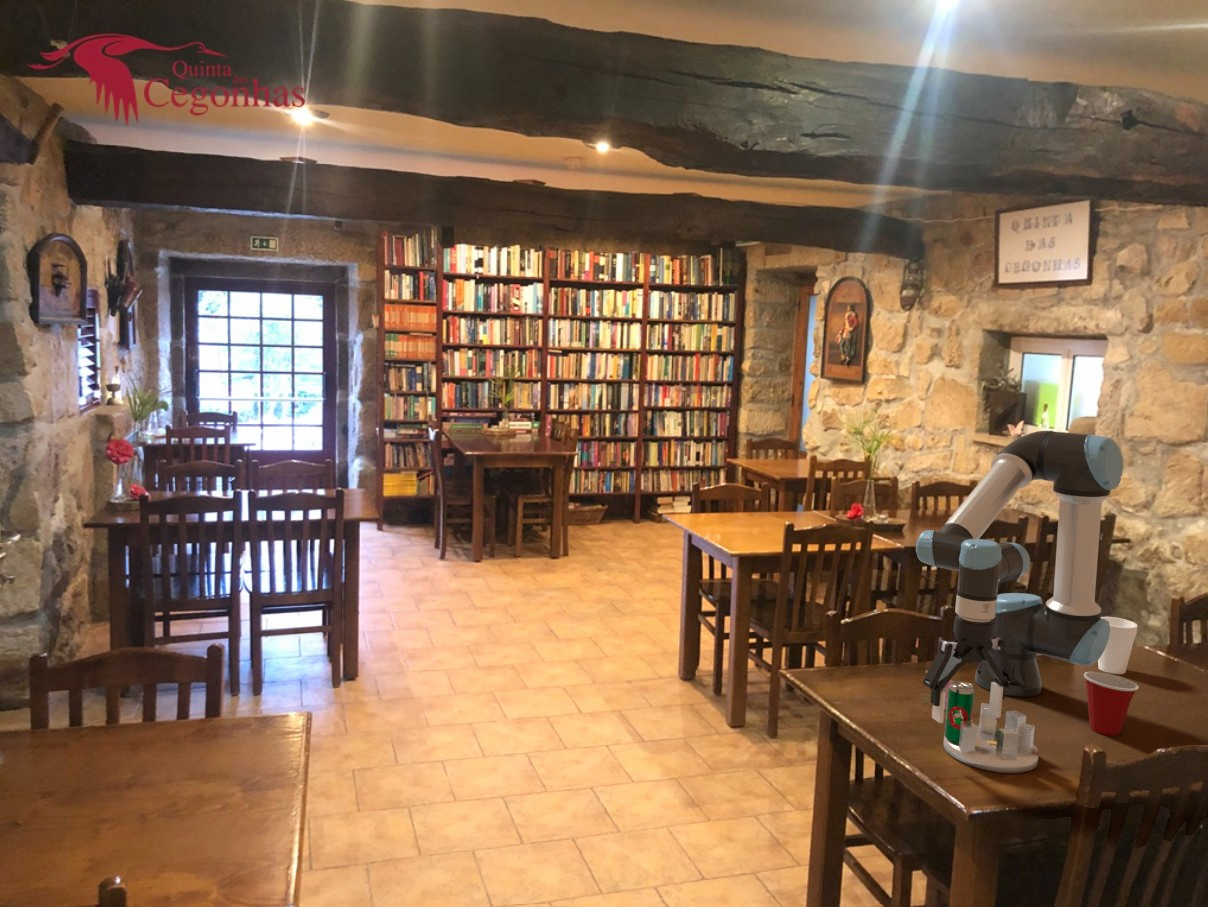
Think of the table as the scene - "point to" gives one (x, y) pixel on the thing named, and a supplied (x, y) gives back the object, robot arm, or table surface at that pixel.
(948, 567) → the robot arm
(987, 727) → the round white pillared stand
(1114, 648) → the foam cup
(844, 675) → the table surface
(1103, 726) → the plastic cup
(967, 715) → the soda can
